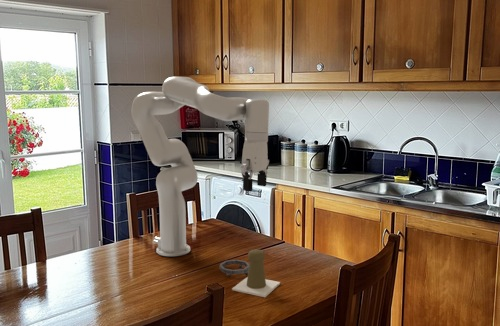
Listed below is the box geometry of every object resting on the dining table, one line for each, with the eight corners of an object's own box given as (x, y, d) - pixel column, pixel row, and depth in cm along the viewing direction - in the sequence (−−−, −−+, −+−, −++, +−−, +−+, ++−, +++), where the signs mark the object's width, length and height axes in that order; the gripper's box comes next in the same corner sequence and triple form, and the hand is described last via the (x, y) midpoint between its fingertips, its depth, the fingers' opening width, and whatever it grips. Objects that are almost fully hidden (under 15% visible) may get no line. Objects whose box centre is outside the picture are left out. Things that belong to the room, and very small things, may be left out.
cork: (264, 289, 144) (264, 254, 142) (244, 287, 145) (244, 253, 143) (267, 281, 149) (267, 247, 148) (248, 280, 151) (248, 246, 149)
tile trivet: (232, 290, 144) (232, 288, 144) (248, 277, 154) (248, 275, 154) (265, 297, 140) (265, 295, 139) (280, 283, 149) (280, 282, 149)
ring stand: (214, 273, 157) (214, 267, 157) (229, 264, 166) (229, 258, 165) (240, 279, 153) (240, 272, 152) (254, 269, 161) (254, 262, 161)
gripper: (258, 134, 165) (257, 182, 168) (232, 138, 150) (231, 191, 153) (278, 135, 162) (276, 185, 165) (253, 140, 147) (251, 194, 150)
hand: (254, 188), depth 159 cm, fingers open, 9 cm apart
